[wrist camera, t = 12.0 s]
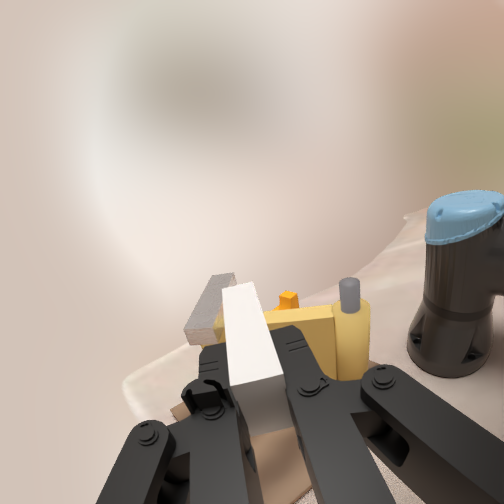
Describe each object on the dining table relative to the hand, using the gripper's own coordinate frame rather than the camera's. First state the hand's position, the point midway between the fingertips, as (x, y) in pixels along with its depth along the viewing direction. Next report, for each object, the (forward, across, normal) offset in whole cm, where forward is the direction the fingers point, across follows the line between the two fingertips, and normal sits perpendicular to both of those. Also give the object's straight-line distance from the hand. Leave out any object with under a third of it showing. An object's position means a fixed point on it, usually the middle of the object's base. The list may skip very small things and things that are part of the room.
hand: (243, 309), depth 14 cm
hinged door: (+15, +3, -22) cm, 27 cm away
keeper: (+17, -3, -24) cm, 29 cm away
